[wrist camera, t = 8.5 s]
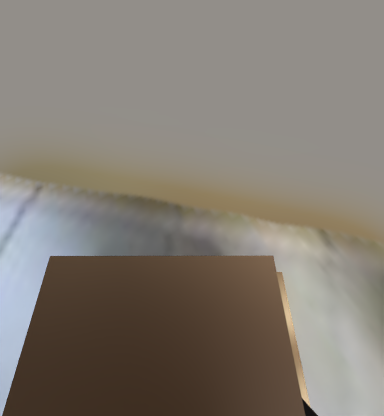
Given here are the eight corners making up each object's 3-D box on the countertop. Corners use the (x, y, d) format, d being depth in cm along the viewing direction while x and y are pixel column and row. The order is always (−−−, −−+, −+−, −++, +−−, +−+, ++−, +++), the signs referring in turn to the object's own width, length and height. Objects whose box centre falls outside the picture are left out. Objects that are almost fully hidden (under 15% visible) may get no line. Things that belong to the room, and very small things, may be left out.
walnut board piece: (206, 398, 13) (405, 909, 2) (138, 401, 12) (-183, 1031, 1) (203, 305, 15) (273, 255, 4) (145, 306, 15) (50, 256, 4)
